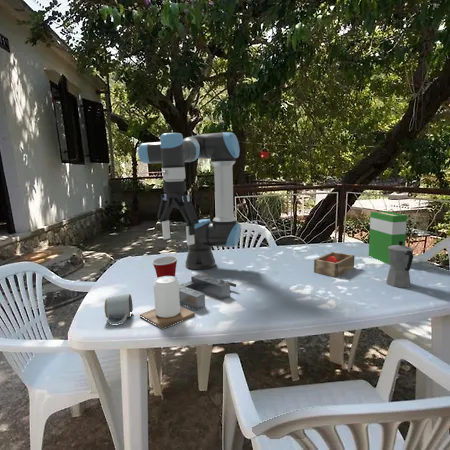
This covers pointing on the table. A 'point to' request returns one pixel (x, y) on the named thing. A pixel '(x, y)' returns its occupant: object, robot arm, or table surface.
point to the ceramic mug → (118, 307)
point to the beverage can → (166, 296)
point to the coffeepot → (399, 265)
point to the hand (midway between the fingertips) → (178, 241)
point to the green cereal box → (386, 233)
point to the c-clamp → (203, 290)
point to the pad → (167, 321)
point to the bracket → (332, 259)
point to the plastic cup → (165, 266)
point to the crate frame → (334, 264)
